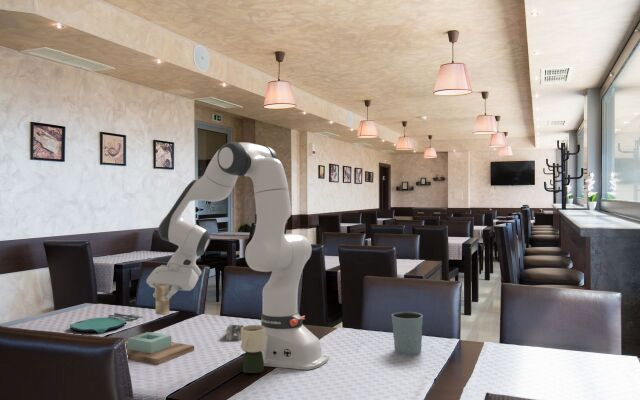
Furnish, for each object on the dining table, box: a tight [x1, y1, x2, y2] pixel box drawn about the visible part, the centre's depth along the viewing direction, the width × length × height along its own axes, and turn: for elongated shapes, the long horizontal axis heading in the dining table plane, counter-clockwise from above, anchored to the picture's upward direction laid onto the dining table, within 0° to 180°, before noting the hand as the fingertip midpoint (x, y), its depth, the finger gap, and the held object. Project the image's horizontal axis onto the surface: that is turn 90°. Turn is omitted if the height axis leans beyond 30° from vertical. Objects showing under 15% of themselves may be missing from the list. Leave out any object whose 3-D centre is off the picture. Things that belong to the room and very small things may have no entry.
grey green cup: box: [391, 311, 424, 356], centre depth 171 cm, size 10×10×12 cm
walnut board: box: [124, 341, 195, 365], centre depth 172 cm, size 24×16×2 cm, turn 63°
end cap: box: [126, 331, 172, 353], centre depth 172 cm, size 10×9×4 cm
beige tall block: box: [154, 285, 170, 316], centre depth 183 cm, size 4×2×10 cm, turn 62°
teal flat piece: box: [69, 312, 143, 335], centre depth 209 cm, size 20×30×2 cm, turn 162°
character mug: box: [240, 324, 265, 375], centre depth 151 cm, size 11×7×13 cm, turn 157°
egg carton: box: [224, 323, 245, 341], centre depth 190 cm, size 11×8×4 cm
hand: (160, 297), depth 183 cm, fingers closed on beige tall block, 4 cm apart
